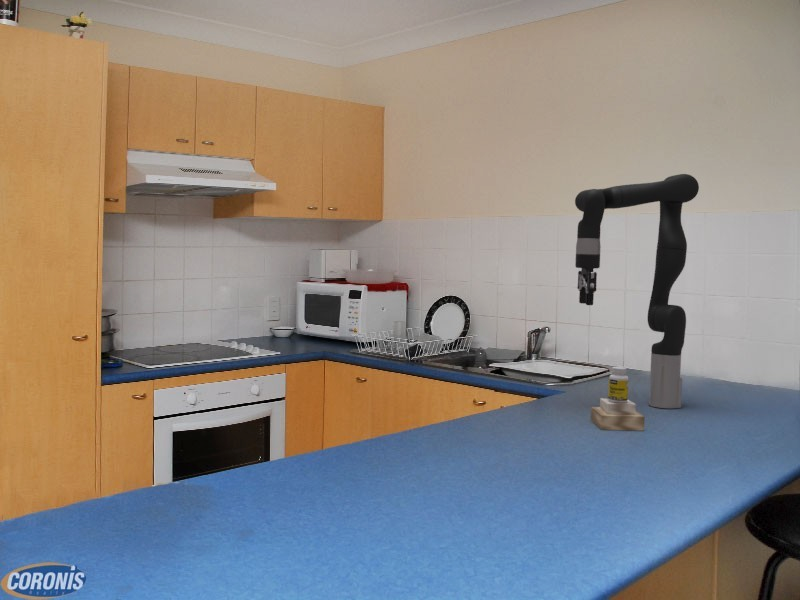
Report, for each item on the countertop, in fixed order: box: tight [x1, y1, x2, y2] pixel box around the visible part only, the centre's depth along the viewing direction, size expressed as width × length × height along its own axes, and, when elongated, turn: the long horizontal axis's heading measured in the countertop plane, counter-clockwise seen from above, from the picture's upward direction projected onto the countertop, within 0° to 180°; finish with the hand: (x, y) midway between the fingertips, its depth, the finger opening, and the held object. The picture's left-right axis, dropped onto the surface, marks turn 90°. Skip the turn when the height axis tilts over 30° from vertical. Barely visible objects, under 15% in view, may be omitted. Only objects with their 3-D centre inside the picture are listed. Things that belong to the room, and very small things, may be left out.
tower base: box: [590, 397, 646, 432], centre depth 224 cm, size 12×12×7 cm
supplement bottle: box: [607, 366, 630, 403], centre depth 224 cm, size 5×5×10 cm
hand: (586, 304), depth 247 cm, fingers open, 8 cm apart
